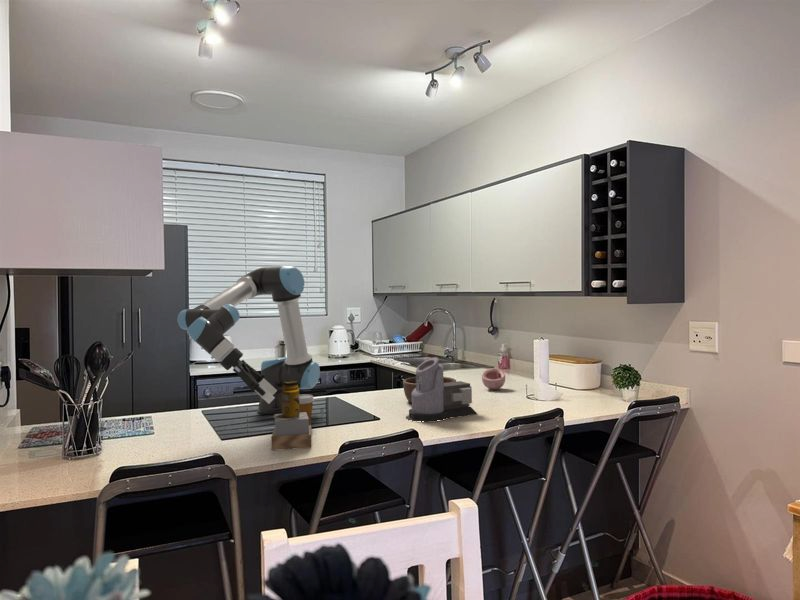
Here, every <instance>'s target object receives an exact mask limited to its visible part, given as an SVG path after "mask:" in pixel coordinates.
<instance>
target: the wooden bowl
mask: <svg viewBox="0 0 800 600" xmlns="http://www.w3.org/2000/svg"><path fill="white" fill-rule="evenodd" d="M443 380H444V383H448V382H457V380H456V379H455V378H452V377H450V376H449V377H447V376H443ZM402 388H403V392H404V395H405V398H406V400H407V401H408V402H409V403H410V404H411V403H412V391H413V390H414V389H415V388H416V376H413V377H408V378H405V379H403V381H402Z"/></svg>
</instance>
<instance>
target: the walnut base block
mask: <svg viewBox="0 0 800 600" xmlns="http://www.w3.org/2000/svg"><path fill="white" fill-rule="evenodd" d="M270 437H271V450H272V449H284V450H294V449H293V448H301V449H312V439H313V438H312V425H309V434H297V435H284V436H276V434H275V426H274V428H273V429H272V433H271V436H270ZM311 438H312V439H311Z"/></svg>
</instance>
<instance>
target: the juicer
mask: <svg viewBox="0 0 800 600" xmlns="http://www.w3.org/2000/svg"><path fill="white" fill-rule="evenodd" d="M439 361H440V359H439V358H438V357H436V356H434V357H431V358H428V359H426V360H424V361H423V362H421V363H420V364H419V365H418V366H417V367H416V369H415V377H416V388H415V389H414V390H413V391H412V404H411V408H410V409H409V410H408V414H407V415H406V416H405V420H407V419H408V420H407V421H409V420H412V421H411V422H413V421H421V422H422V421H424V422H426V423H428V422H427V421H437V420H443V419H446V418H448V419H451V418H450V417H455V418H459V417H458V416H462V417H468V415H469V416H474V415H475V416H476V415H478V413H477V412H476V411H475V409H474V408H473V407H472V406H470V405H471V404H472V403H473V400H472V399H473V398H472V397H473V396H472V395H473V393H472V392H473V391H472V389H473V388H472V385H471V383H469V382H464V381H462V380H458V381H457V380H456V382H448V383H444V380H443V377H444V365H442V364H441V363H439ZM446 420H447V419H446ZM443 421H444V420H443ZM437 422H438V421H437Z"/></svg>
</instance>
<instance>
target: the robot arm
mask: <svg viewBox="0 0 800 600" xmlns="http://www.w3.org/2000/svg"><path fill="white" fill-rule="evenodd" d="M304 286H305V279H304V275H303V274H302V272H301V270H300V269H298V268H297V267H296V266H291V265H290V266H288V265H282V266H281V265H279V266H263V267H260V268H257V269H254V270H253V271H250V272H249V273H246V274H244V275H242V276H241V277H239V278H238V279H237V280H236V282H235V283H234V284H233V285H230V286H229V287H227V288H226V289H224V290H222V291H221V292H219V293H218V294H216V295H214V296H213V297H211V298H209V299H208V300H206V301H205V302H203V303H200V304H198V305H197V306H195V307H194V308H192V309H191V308H187V309H183V310H181V311H180V312H179V313H178V315H177V323H178V327H179V328H180V329H182V330H183V331H184V330H185V331H186V333H187V335H188V336H189V337H190V338H191V339H192V340H193V342H195V343H196V344H197V345H199V346H200V348H202V349H203V350H204V351H205V352H206V353H208V354H209V356H211V357H210V358H211V359H212V360H213V359H214V360H215V361H216V362H218V363H219V362H220V365H221V366H222V368H224V369H225V370H226V371H229V370H230V369H231V368H232V367H233V368H232V372H234V373H235V374H236V375H238V377H239V378H240V379H241V380H242V382H244V383H245V385H246V386H247V387H248V388H249V389H250V392H251V393H254V392H255V393H256V394H257V395H258V396H259V397H260V400H259V402H258V405H257V412H258V413H260V414H262V415H275V414H282V389H283V388H282V387H283V382H286V381H297V382H298V389H299V390H310V389H313V388H314V387H315V386H317V383H318V381H319V379H320V376H321V370H320V368H321V367H320V365H319V363H318V362H316V361H313V356H312V355H311V353H308V349H307V343H306V338H305V330H304V326H303V321H302V320H303V319H302V315H301V311H300V304H299V300H300V298H301V297H302V296H301V295H302V293H303V291H304V289H305V287H304ZM258 296H271V297H272V302H274V303H275V304H276V305H277V309H278V315H279V319H280V325H281V329H282V330H281V331H282V335H283V341H284V346H285V351H286V356H287V357H277V358H271V359H265V360H263V361H262V362H261V365H260V371H259V372H258V371H257V370H256V369H255V368H253V367H252V366H251V365H249V364H248V363H247V362H246V361H245V360H244V359H242V360H240V359H241V358H242V357H243V356H244V353H243V352H241V350H239V349H238V347H235V345H234V344H233V343H232V342H231V341H230V340H229V339H228V338H227V337H225V336H224V335H225V334H226V333H227V332H228V331H229V330H230V329H232V328H233V327H234V326H235V325H236V323H237V322H238V321H239V320H240V316H241V315H240V312H239V310H238V309H237V307H236V306H238V305H240V304H242V302H245V300H250V299H253V298H255V297H258Z"/></svg>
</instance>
